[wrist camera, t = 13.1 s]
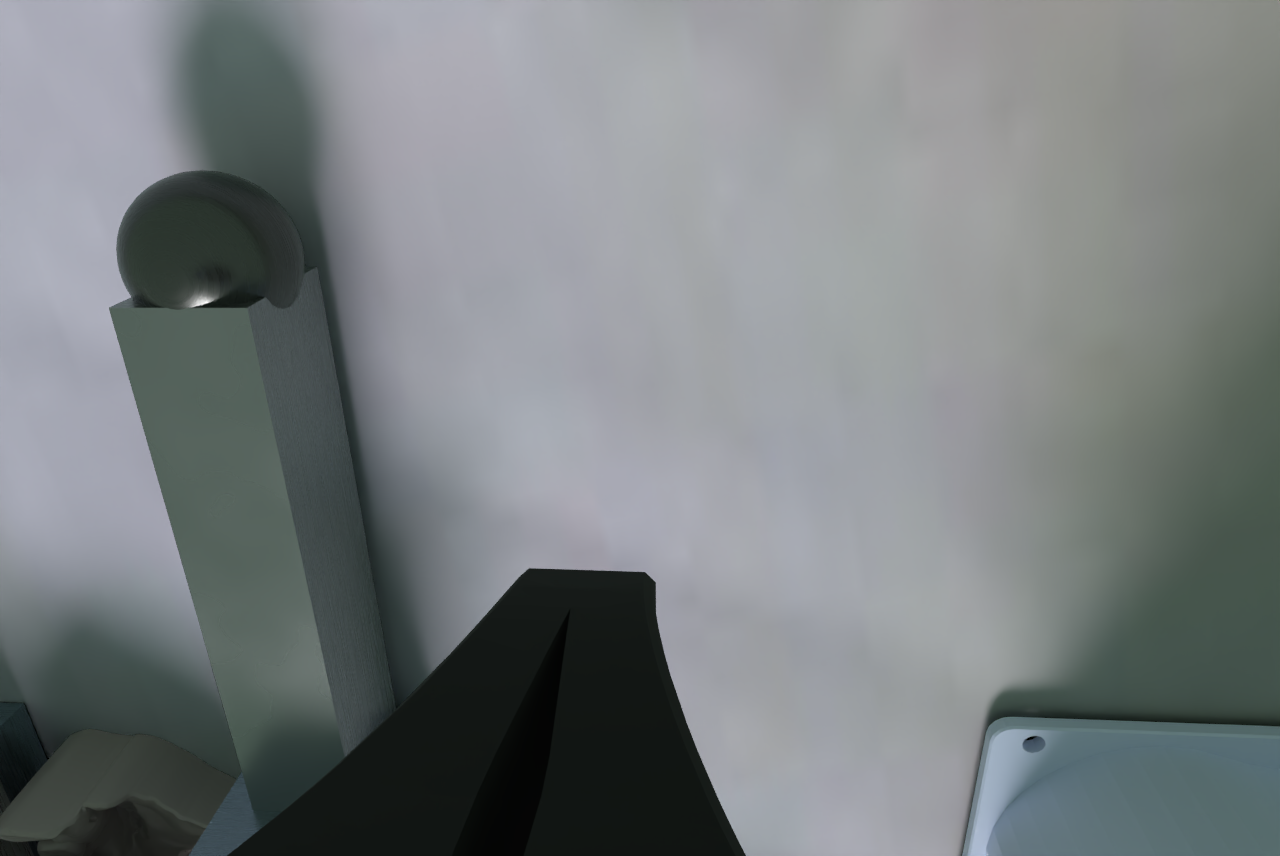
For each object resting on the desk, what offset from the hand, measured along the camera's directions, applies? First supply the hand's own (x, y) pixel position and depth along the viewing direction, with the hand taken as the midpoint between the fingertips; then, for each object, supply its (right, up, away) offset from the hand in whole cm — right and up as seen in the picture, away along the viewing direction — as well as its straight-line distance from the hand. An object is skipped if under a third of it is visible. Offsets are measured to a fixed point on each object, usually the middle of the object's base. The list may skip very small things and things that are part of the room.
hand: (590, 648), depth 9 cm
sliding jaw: (-7, -4, +12) cm, 14 cm away
